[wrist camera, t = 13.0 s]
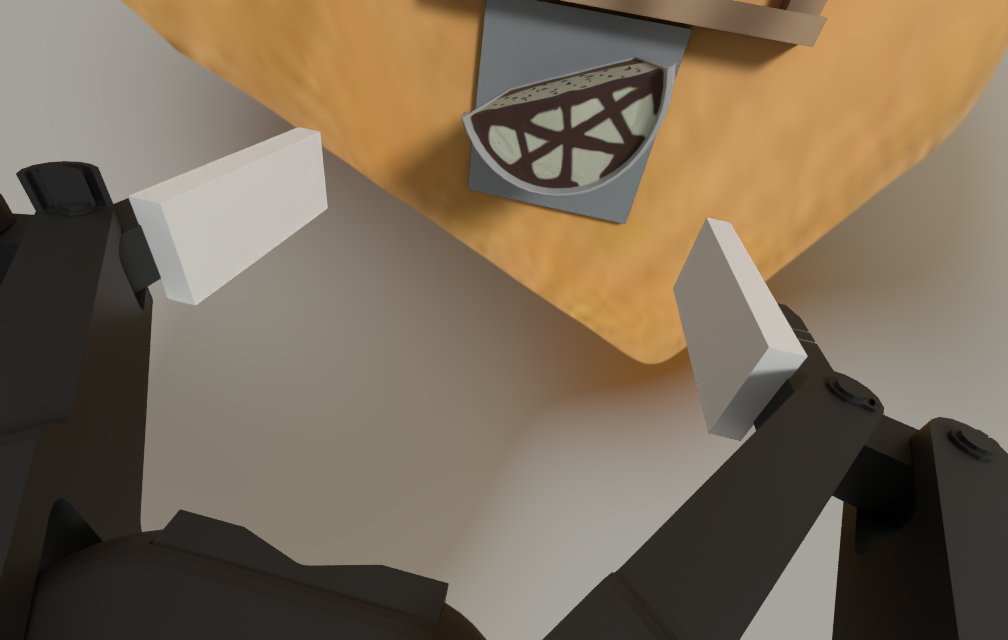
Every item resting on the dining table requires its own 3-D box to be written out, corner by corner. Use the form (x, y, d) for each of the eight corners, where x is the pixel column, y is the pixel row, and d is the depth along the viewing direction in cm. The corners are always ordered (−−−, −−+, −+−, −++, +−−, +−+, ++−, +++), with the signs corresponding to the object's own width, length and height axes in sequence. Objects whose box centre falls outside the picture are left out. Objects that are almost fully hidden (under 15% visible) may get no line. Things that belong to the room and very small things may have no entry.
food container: (508, 172, 36) (481, 218, 28) (490, 92, 33) (453, 119, 25) (664, 142, 33) (682, 186, 25) (660, 50, 30) (680, 65, 22)
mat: (469, 187, 38) (467, 189, 38) (489, -9, 30) (487, -9, 30) (625, 221, 38) (625, 224, 37) (690, 29, 29) (692, 29, 29)
